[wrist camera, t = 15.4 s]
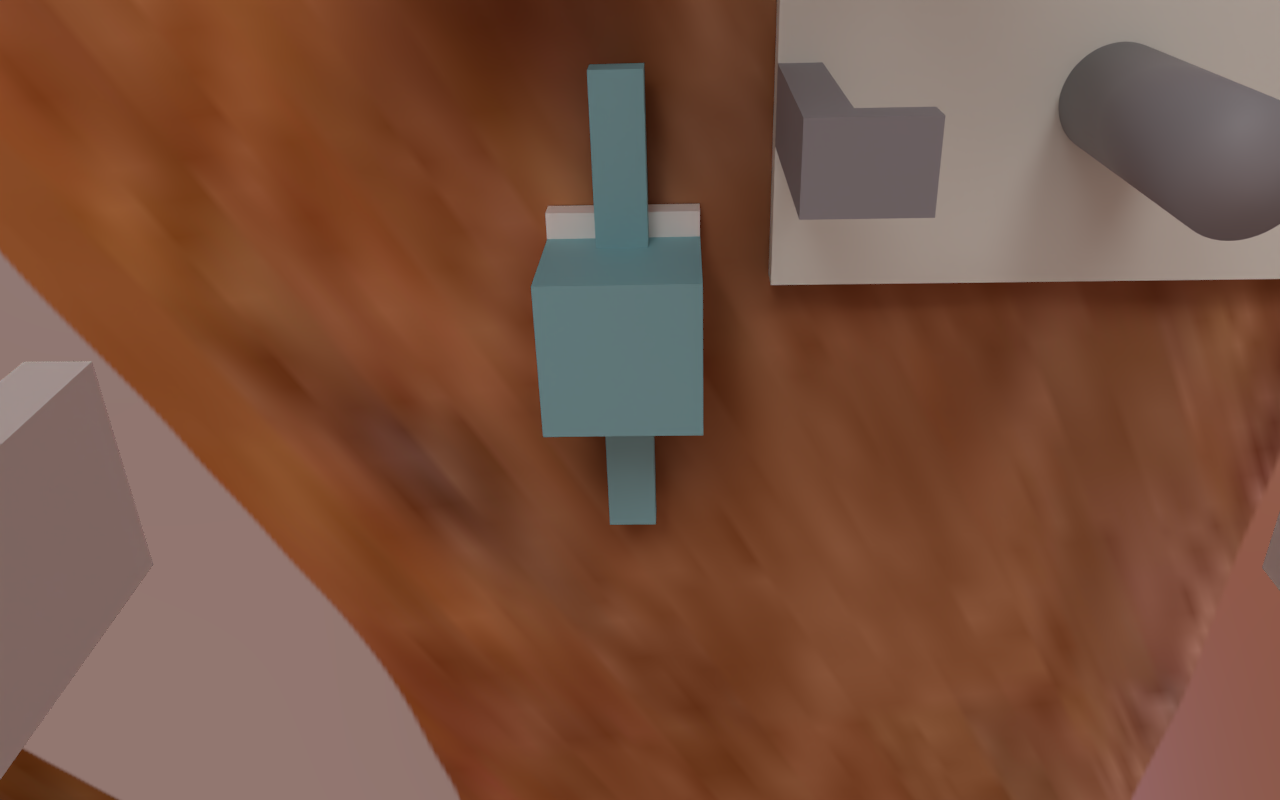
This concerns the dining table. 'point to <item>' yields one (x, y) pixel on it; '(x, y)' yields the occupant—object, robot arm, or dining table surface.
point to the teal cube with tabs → (620, 310)
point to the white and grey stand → (1025, 141)
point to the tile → (661, 217)
